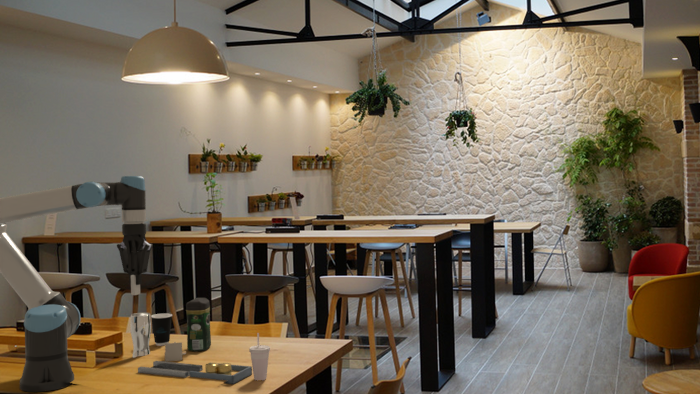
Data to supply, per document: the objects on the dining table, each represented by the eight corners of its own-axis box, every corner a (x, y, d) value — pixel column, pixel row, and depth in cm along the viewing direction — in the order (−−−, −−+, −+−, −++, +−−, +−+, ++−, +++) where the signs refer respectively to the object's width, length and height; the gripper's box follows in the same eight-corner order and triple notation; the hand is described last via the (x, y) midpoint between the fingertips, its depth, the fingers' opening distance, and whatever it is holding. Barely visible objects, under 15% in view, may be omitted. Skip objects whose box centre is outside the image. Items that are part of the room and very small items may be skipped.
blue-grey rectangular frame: (233, 384, 199) (233, 375, 199) (189, 379, 205) (189, 371, 205) (251, 374, 209) (251, 366, 209) (210, 370, 215) (209, 362, 215)
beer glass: (154, 354, 238) (153, 312, 238) (147, 359, 231) (146, 316, 231) (136, 354, 238) (135, 312, 238) (127, 359, 232) (126, 316, 231)
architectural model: (165, 363, 227) (164, 341, 227) (186, 361, 228) (185, 340, 228) (164, 365, 223) (164, 343, 223) (186, 364, 225) (185, 342, 225)
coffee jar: (192, 345, 250) (191, 296, 249) (213, 345, 249) (212, 296, 249) (184, 352, 240) (183, 300, 240) (205, 352, 240) (204, 300, 239)
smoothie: (260, 374, 209) (259, 330, 209) (275, 378, 205) (274, 332, 205) (245, 379, 204) (244, 334, 204) (259, 383, 200) (258, 336, 200)
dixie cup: (157, 347, 248) (156, 318, 247) (147, 344, 253) (146, 315, 253) (176, 344, 253) (176, 315, 253) (166, 340, 259) (166, 312, 259)
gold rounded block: (215, 379, 203) (215, 366, 203) (203, 378, 204) (203, 366, 204) (221, 376, 207) (220, 363, 207) (209, 375, 208) (209, 362, 208)
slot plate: (185, 380, 204) (185, 372, 204) (138, 375, 211) (137, 367, 210) (202, 373, 212) (202, 365, 212) (156, 368, 219) (156, 360, 219)
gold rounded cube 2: (229, 379, 203) (228, 366, 203) (216, 379, 203) (216, 366, 203) (233, 375, 207) (232, 363, 207) (220, 375, 207) (220, 362, 207)
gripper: (157, 222, 220) (159, 293, 220) (126, 222, 224) (127, 291, 225) (142, 223, 213) (144, 297, 213) (110, 223, 217) (112, 295, 218)
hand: (135, 294), depth 219 cm, fingers closed
